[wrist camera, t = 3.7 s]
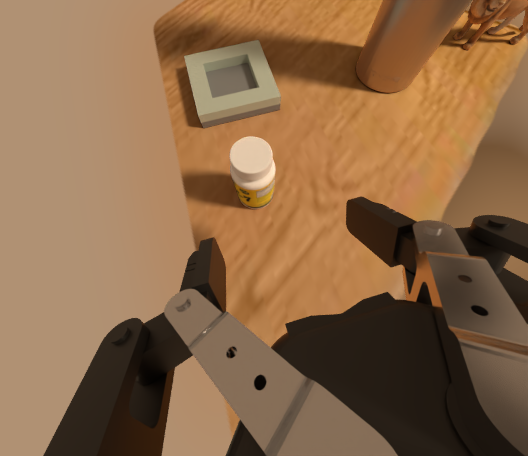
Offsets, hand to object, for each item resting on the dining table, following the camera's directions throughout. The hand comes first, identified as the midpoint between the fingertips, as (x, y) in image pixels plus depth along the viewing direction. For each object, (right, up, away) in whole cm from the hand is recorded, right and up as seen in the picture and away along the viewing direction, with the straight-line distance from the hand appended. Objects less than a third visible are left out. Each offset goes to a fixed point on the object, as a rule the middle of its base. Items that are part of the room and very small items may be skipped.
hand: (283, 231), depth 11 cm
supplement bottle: (-2, +5, +14) cm, 15 cm away
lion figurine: (+35, +32, +21) cm, 52 cm away
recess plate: (-6, +22, +19) cm, 30 cm away
